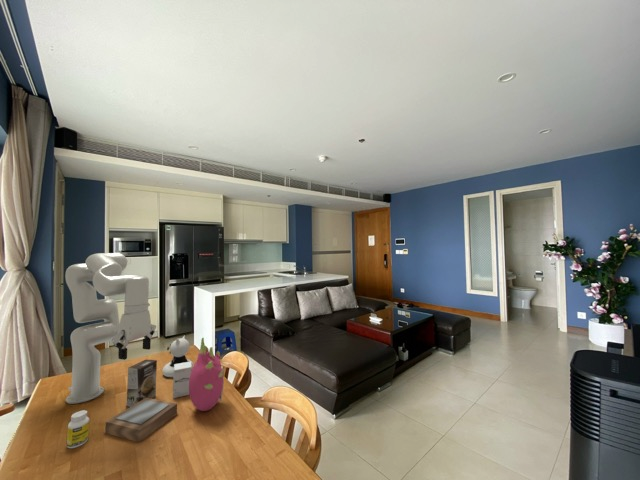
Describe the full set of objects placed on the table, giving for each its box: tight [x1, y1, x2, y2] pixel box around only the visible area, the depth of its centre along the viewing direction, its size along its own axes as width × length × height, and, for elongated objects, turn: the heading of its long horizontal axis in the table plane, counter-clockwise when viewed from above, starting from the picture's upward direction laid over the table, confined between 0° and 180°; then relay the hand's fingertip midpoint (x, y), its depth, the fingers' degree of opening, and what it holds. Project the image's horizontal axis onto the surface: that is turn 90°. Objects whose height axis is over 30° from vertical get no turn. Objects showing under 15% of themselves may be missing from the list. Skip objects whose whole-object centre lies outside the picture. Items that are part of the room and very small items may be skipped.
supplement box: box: [172, 360, 193, 399], centre depth 119 cm, size 7×7×13 cm
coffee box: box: [125, 359, 158, 408], centre depth 113 cm, size 9×6×16 cm
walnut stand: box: [104, 397, 178, 443], centre depth 98 cm, size 16×16×4 cm
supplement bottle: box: [66, 409, 90, 449], centre depth 88 cm, size 5×5×10 cm
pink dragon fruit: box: [189, 337, 225, 412], centre depth 108 cm, size 18×14×30 cm
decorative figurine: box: [161, 335, 194, 378], centre depth 139 cm, size 15×15×20 cm
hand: (135, 353), depth 98 cm, fingers open, 9 cm apart
